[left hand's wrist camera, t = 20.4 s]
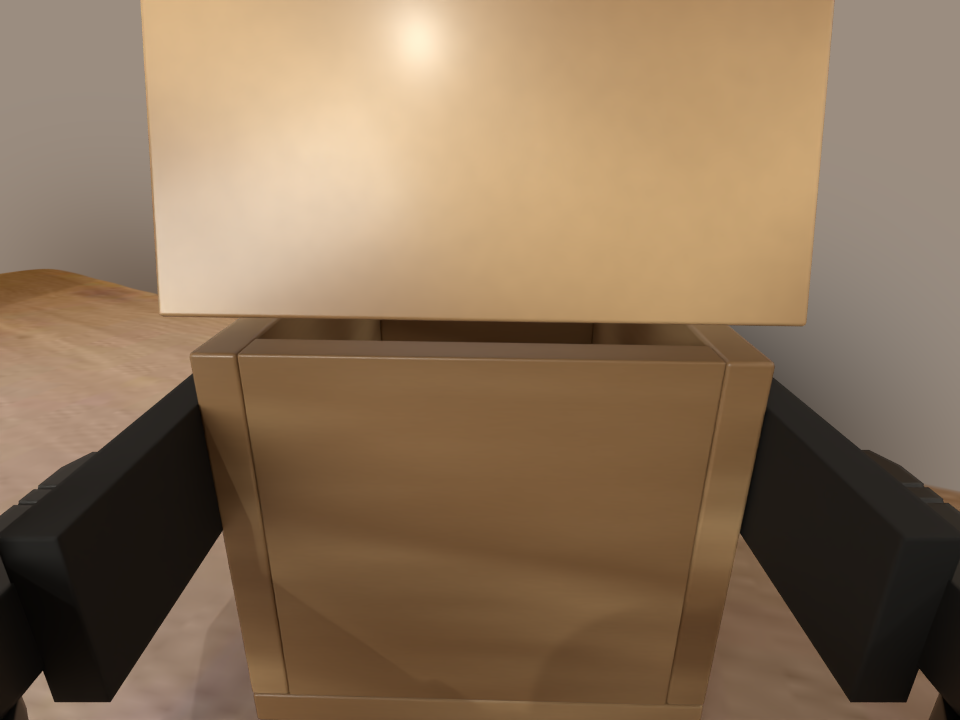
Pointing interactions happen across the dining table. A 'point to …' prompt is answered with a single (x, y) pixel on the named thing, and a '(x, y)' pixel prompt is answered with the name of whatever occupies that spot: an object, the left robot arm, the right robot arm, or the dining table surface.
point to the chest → (480, 512)
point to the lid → (486, 158)
